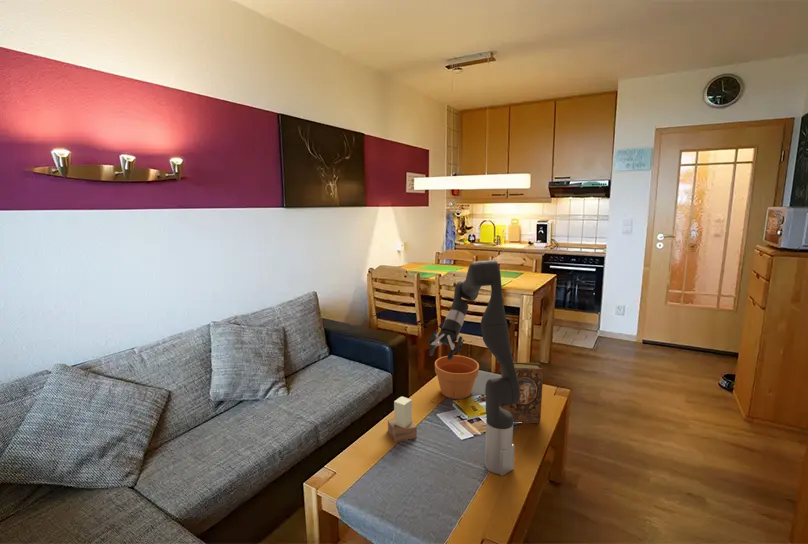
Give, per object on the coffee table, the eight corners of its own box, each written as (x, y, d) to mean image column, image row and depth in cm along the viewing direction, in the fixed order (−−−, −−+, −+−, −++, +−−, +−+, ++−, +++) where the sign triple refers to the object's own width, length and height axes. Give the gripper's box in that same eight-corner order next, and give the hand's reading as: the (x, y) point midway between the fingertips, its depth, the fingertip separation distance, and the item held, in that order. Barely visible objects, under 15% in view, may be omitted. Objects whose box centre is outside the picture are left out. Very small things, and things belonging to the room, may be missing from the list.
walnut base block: (416, 438, 163) (416, 426, 162) (395, 443, 160) (395, 431, 159) (408, 426, 172) (408, 415, 171) (387, 431, 168) (387, 420, 167)
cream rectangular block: (411, 422, 165) (411, 399, 163) (404, 428, 161) (404, 405, 159) (402, 418, 168) (401, 396, 166) (394, 424, 164) (394, 401, 162)
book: (500, 422, 173) (502, 367, 168) (498, 415, 179) (500, 361, 174) (540, 424, 172) (543, 368, 167) (537, 417, 177) (540, 363, 172)
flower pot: (484, 388, 203) (485, 360, 200) (467, 407, 185) (468, 377, 182) (446, 378, 214) (446, 352, 211) (426, 395, 196) (426, 366, 194)
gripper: (435, 315, 175) (421, 349, 168) (465, 321, 167) (451, 356, 160) (442, 324, 181) (428, 357, 174) (471, 330, 173) (458, 365, 165)
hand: (439, 357), depth 167 cm, fingers open, 8 cm apart
